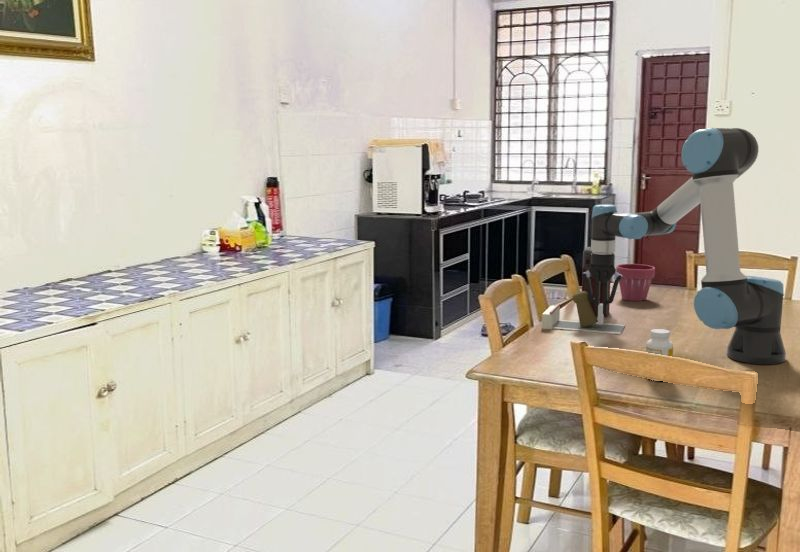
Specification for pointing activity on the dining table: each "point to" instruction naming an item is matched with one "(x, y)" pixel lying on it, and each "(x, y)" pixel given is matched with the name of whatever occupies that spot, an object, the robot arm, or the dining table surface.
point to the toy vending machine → (593, 280)
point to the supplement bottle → (660, 343)
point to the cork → (584, 309)
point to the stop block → (550, 317)
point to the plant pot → (635, 281)
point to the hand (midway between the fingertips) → (600, 323)
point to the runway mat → (589, 327)
